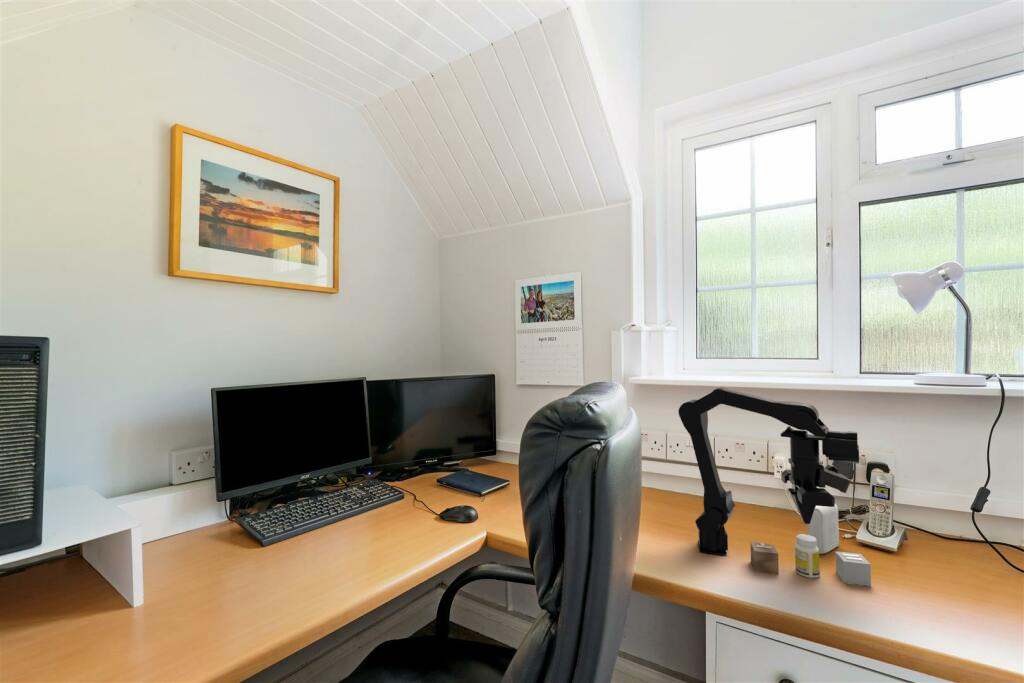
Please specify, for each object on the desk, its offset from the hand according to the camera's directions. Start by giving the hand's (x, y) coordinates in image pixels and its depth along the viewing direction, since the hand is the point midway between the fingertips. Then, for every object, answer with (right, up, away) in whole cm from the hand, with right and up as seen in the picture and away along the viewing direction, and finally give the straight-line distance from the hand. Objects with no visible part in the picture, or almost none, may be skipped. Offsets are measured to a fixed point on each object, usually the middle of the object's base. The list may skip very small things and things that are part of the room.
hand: (806, 523), depth 105 cm
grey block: (+9, -12, -3) cm, 15 cm away
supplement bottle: (0, -12, 0) cm, 12 cm away
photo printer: (+13, -12, +13) cm, 22 cm away
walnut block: (-8, -12, +3) cm, 15 cm away
